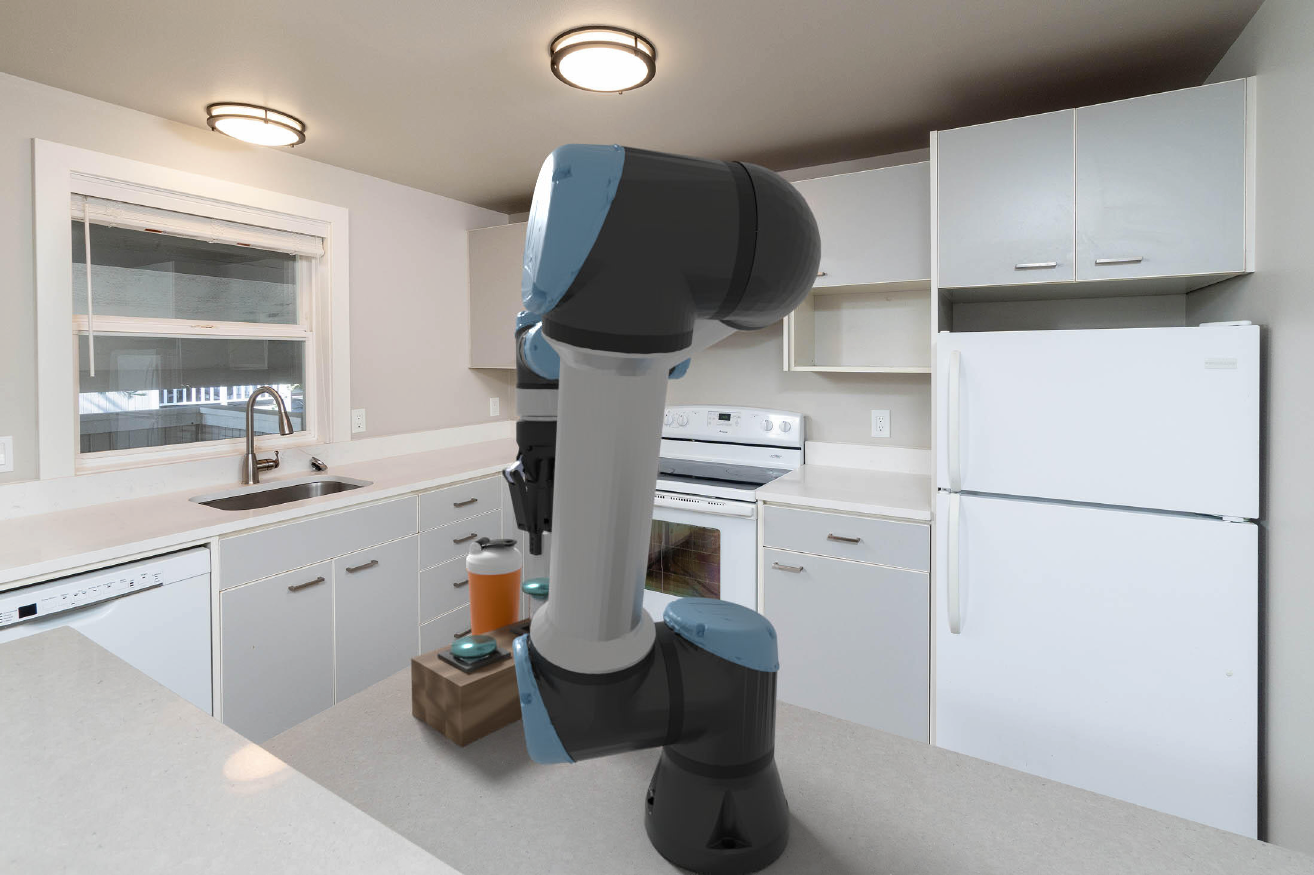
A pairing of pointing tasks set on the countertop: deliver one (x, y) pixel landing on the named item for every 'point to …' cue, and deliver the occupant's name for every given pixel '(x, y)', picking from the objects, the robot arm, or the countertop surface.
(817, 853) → the countertop surface
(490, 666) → the socket block
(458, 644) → the peg left
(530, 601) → the peg right
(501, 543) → the shaker bottle
